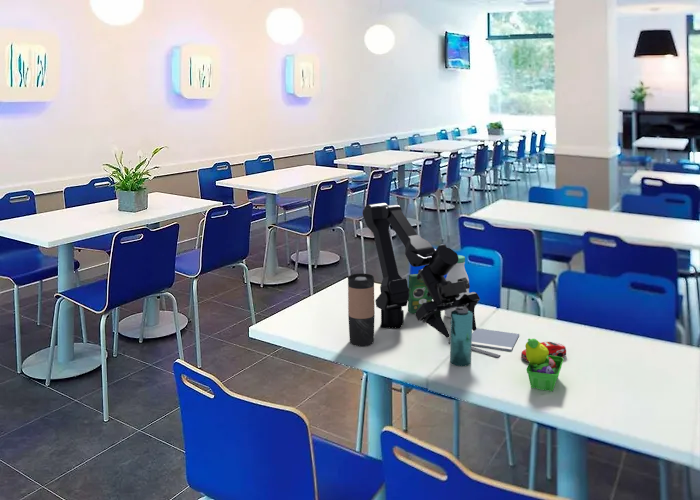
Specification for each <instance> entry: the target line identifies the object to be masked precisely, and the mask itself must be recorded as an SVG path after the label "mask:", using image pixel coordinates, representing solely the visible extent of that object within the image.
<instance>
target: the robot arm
mask: <svg viewBox="0 0 700 500" xmlns="http://www.w3.org/2000/svg"><path fill="white" fill-rule="evenodd" d="M362 217H363V219H364V223H365V225H366V227H367V228H368V230H370V231H371V232H372V235H373V238H374V243H375V247H376V252H377V255H378V261H379V265H380V270H381V274H382V280H381V284H380V287H379V289H380V294H379V295H378V297H376V299H374V303H375V305H376V308H377V309H380V325H379V327H380V328H382V329H396V330H397V329H399V330H400V329H402V326H403V325H404V323H405V322H404V321H405V320H404V318H405V317H404V315H405V314H404V313H405V310H403V307H408V298H409V288H408V286H409V284H408V280H407V279H406V277H405V278H403V277H402V276H401V275H400V273H399V270H398V265H397V262H396V261H397V260H396V257H395V251H394V248H393V243H392V238H391V234H390V230H389V229H390V226H391V227H392V229H393V231H394V232H395V234H396V235H397V236H398V238H399V239H400V240H401V243H402V244H403V245H404V248H405V249H404V255H405V257H406V259H407V261H408V262H409V264H410V265H411V266H412V267H414V268H419V267H423V268H422V269H421V268H420V269H418V270H417V271H418V273H417V274H418V275H417V279H423V281H424V283H425V285H426V287H427V289H428V291H429V292H428V293H427V295H428V297H432V301H430V302H426V303H423V304H422V305H421V306H420V307H419V308H418V309H417V311H416V313H415V317H416V319H417V322H422V323H423V324H427V325H429V326H430V327H432V328H433V329H435V330H436V331H437V332H439V333H440V334H441V335H442V336H443V337H445V338H446V339H448V338H450V337H451V334H450V332H449V330H448V329H447V326H446V323H445V322H444V320H443V318H442V311H445V310H447V309H452V308H456V307H466V308H468V311H470V312H472V313H473V317H472V332H474V331H475V330H476V328H477V324H476V316H475V308H476V306H477V305H478V304H479V301H481V298H480V296H479V294H478V293H477V292H475V291H472V292H469V293H467V294H464V295H463V296H462V297H461V298H460V299H459V300H456V298H458V297H459V296H460V295H459V294H460V293H466V292H467V291H466V289H469V290H470V287H471V285H470V281H469V282H468V280H467V279H466V277H465V278H461V279H458V282H455V283H451V281H446V277H445V276H447V275H448V273H449V271H450V270H451V269H452V268H453V267H454V266H455V265H456V263H457V262H458V255H459V254H458V253H457V252H456V251H455V250H453V249H452V248H449V247H447V245H446V244H438V246H437V247H436V248H434V246H433V245H432V244H431V243H430V242H429V240H427V239H424V238H423V237H421V236H420V235H419V234H418V233H417V232H416V230H415V228H414V227H413V226H412V224H411V223H410V222H409V220H408V219H407V217H406V216H405V214H404V213H403V210H402V208H401V206H400V205H398V204H390V205H389V204H387V203H386V202H381V203H380V202H379V203H371V204H366V205H365V206H364V209H362Z"/></svg>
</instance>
